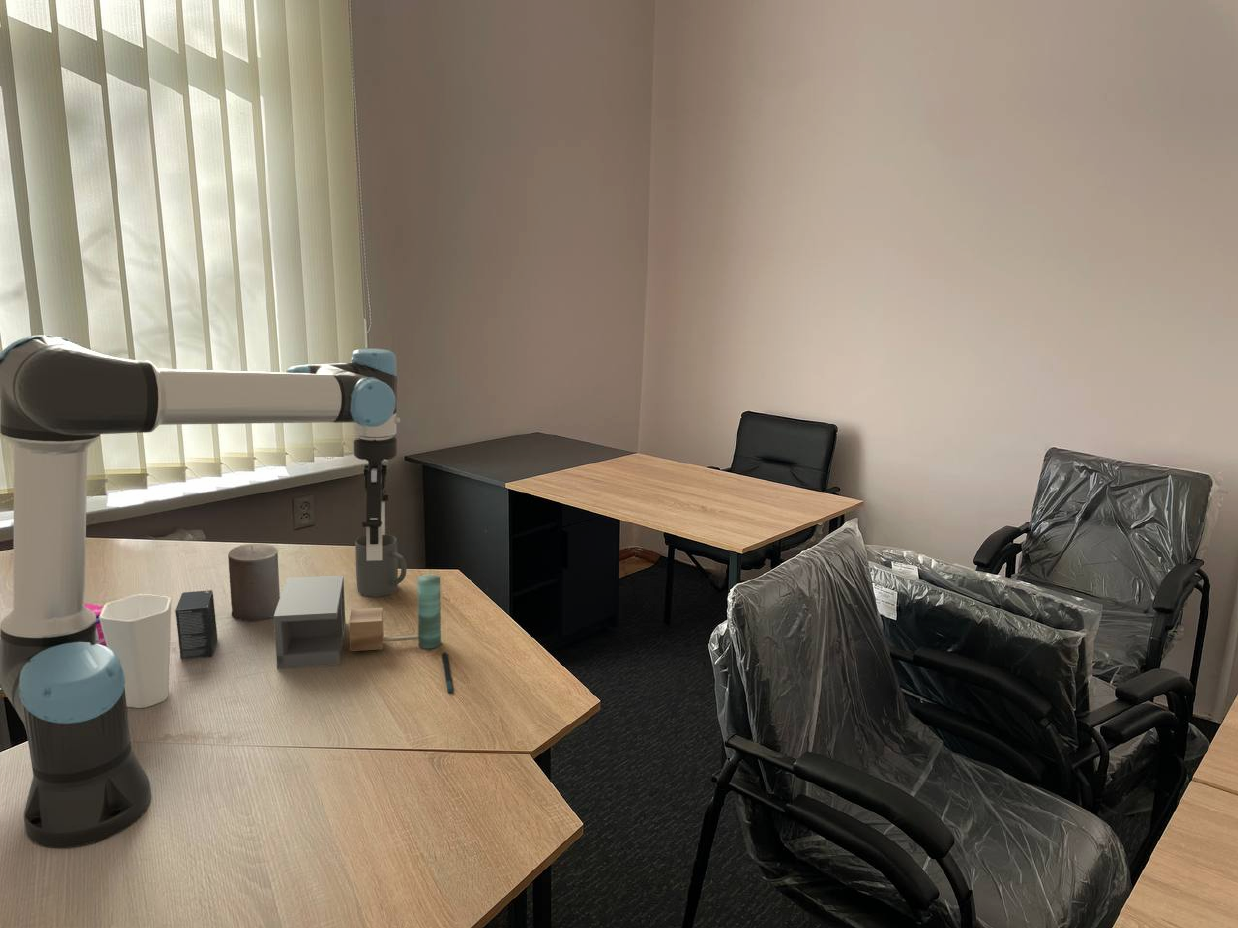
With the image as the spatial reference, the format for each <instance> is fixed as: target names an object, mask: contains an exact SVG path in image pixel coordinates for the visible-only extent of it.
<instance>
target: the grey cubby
mask: <svg viewBox="0 0 1238 928" xmlns="http://www.w3.org/2000/svg"><path fill="white" fill-rule="evenodd" d="M344 579H345V578H344V575H343V574H342V575H341V574H340V575H337V574H336V575H321V576H320V575H319V576H318V575H317V576H297V577H293V576H292V577H286V579H285V581H284V585H283V588H282V591H281V593H280V599H279V602H278V605H277V608H276V611H275V614H274V616H273V624H274V627H273V628H274V639H275V640H274V642H275V652H276V654H275V657H276V669H291V668H292V669H293V668H295V669H296V668H305V667H306V668H308V667H321V666H324V667H325V666H335V665H336V666H337V665H340V659H341V654H342V647H343V642H344V641H343V640H344V634H345V630H346V629H345V627H346V605H345V603H346V602H345V583H344V582H345V580H344Z"/></svg>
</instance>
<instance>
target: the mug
mask: <svg viewBox="0 0 1238 928" xmlns="http://www.w3.org/2000/svg"><path fill="white" fill-rule="evenodd" d="M397 541H398V540H397V538H396V537H395V536H394V535H392V534H387V533H385V535H382V560H370V561H367V554H366V534H365V535H361V536H359V537H358V538H356V539H355V548H354V550H355V551H354V552H355V553H354V554H355V557H354V558H355V579H356V590H357V593H359V594H360V595H361V596H365V597H370V598H380V597H386V596H389V595H391V594H394V593H395V592H396V591H397V590H398V586H399V584H400V583H401V582H403V581H404V579H405V578H406V576H407V561H406V559H405V557H404V556H403V555H402V554H400V553H398V542H397ZM398 560H399V562H400V575H399V570H398V568H399V566H398V565H399V564H398Z"/></svg>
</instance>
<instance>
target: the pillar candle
mask: <svg viewBox="0 0 1238 928" xmlns="http://www.w3.org/2000/svg"><path fill="white" fill-rule="evenodd" d="M278 552H279V550H278V548H277V547H276V546H274V545H272V544H267V543H248V544H242V545H239V546H236V547H234V548H232V549H230V550H229V551H228V554H227V556H228V557H227V558H228V572H229V573H228V574H229V583H230V585H229V587H230V589H229V590H230V601H231V603H230V604H231V616H232V618H234V619H236V620H239V621H242V622H243V621H245V622H256V621H263V620H267V619H270V618H272V617H273V618H274V614H275V611H276V608H277V605H278V602H279V599H280V596H281V593H280V592H281V591H280V574H279V573H280V572H279V556H278V555H279V554H278Z"/></svg>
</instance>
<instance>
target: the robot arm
mask: <svg viewBox="0 0 1238 928" xmlns="http://www.w3.org/2000/svg"><path fill="white" fill-rule="evenodd" d="M397 367H398V366H397V357H396V354H395V353H394V352H393V351H391V350H389V349H383V348H361V349H355V350H353V352H352V355H351V361H349V362H344V363H343V362H342V363H341V362H340V363H323V364H321V363H320V364H319V363H318V364H309V363H306V364H302V365H294V366H291V367H289V368H288V369H287V370H286V371H285V372H268V371H267V372H266V371H239V370H238V371H236V370H235V371H234V370H207V369H202V370H201V369H180V368H179V369H177V368H175V369H174V368H158V367H157V366H156V365H154V363H152V362H151V361H150V360H137V359H136V360H135V359H127V358H120V357H116V356H115V357H114V356H110V355H106V354H103V353H99V352H97V351H94V350H91V349H88V348H86V347H82V346H80V345H79V344H78V343H77V342H74V341H72V340H71V339H68V338H65V337H59V336H53V335H44V334H43V335H31V336H25V337H23V338H20V339H17V340H16V341H14V342H12V343H9V345H8V346H7V347H5V348H4V349H3V350H1V352H0V436H1V437H2V439H4V440H6V441H7V443H9V444H10V445H12V447H13V580H12V581H13V586H12V587H13V588H12V589H13V591H12V592H13V595H12V596H13V599H12V600H13V607H12V608H13V610H12V611H11V612H9V614H7V615H6V616H5V617H3V619H2V620H1V621H0V689H1V690H2V692H3V693H4V694H5V695H6V697H7V699H8V700H9V703H11V705H12V707H13V709H14V710H15V712H16V713H17V715H18V717H19V718H20V720H21V721H22V723H23V725H24V729H25V731H26V736H27V743H28V748H29V750H28V751H29V755H30V761H31V762H30V763H31V769H32V775H33V776H32V780H31V783H30V788H29V792H28V794H27V795H28V796H27V799H26V803H25V807H24V812H23V821H24V822H23V823H24V828H25V833H26V835H27V837H28V838H29V839H30V840H31V841H32V842H34V843H35V844H37V845H40V846H44V847H48V848H59V849H60V848H61V849H62V848H72V847H73V848H74V847H80V846H85V845H89V844H92V843H95V842H99V841H101V840H105V839H107V838H109V837H112V836H114V835H116V834H118V833H120V832H122V831H123V830H125V829H127V828H128V827H130V826H132V824H134V823H135V822H136V821H137V820H138V819H140V818H141V817H142V816H143V815H144V813H145V812H146V811H147V810H148V809H149V807H150V804H151V801H152V789H151V782H150V780H149V777H148V775H147V773H146V772H145V770H144V768H143V766H142V765H141V763H140V761H139V760H138V758H137V757H136V755H135V753H134V751H133V750H132V742H131V734H130V733H131V732H130V724H129V723H130V722H129V716H128V706H127V705H126V696H125V686H124V684H125V677H124V672H123V669H122V667H121V663H120V660H119V658H118V656H117V655H116V653H115V652H114V651H112V650H111V649H110V648H108V647H106V646H103V645H100V644H96V615H95V613H94V612H92V611H91V610H90V609H88V608H87V607H85V605H84V604H85V595H86V594H85V593H86V592H85V590H86V589H85V588H86V543H87V541H86V537H87V536H86V535H87V534H86V533H87V494H88V493H87V488H88V487H87V486H88V449H89V447H91V445H93V444H94V443H95V442H96V441H98V440H99V439H100V438H101V435H112V434H114V435H115V434H116V435H117V434H137V433H138V434H141V433H142V434H144V433H145V434H146V433H152V432H154V431H155V430H156V429H157V428H158V427H159V426H161V425H162V426H163V425H166V426H167V425H168V426H169V425H170V426H171V425H172V426H173V425H176V426H177V425H227V424H228V425H231V424H232V425H235V424H237V425H238V424H248V425H249V424H296V423H297V424H304V423H308V424H309V423H313V424H314V423H334V424H335V423H337V424H339V423H345V424H346V423H351V424H352V432H353V434H354V435H355V436H354V437H353V455H354V457H355V458H356V459H358V460H361V461H364V460H365V461H367V462H368V464H364V468H363V478H364V491H365V492H366V510H365V511H366V514H365V515H366V518H365V521H363V522H361V523H362V524H361V525H362V526H361V527H363V528H366V529H365V532H366V533H365V535H366V554H367V561H370V560H382V535H385V534H386V532H385V531H386V524H385V523H386V513H385V512H386V509H385V508H386V506H385V503H386V502H387V501H389V495H388V494H385V493H386V480H387V474H388V465H387V464H384V461H388V460H392V459H394V458H395V457H397V454H398V452H397V451H398V450H397V449H398V445H397V444H398V443H397V442H398V441H397V440H398V438H397V437H396V436H395V435H396V434H397V424H399V423H401V419H400V417H397V412H398V411H397V408H398V407H397V406H398V404H397V403H398V402H397V398H398V396H397V395H398V390H397V389H398V370H397V369H398V368H397Z"/></svg>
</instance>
